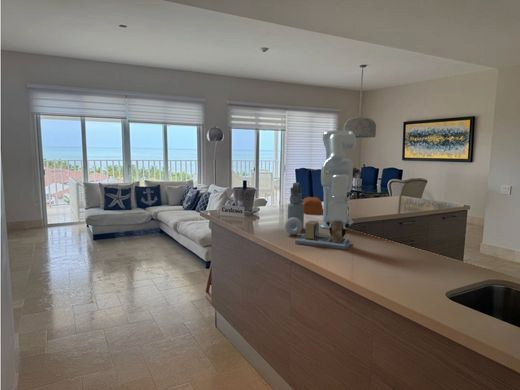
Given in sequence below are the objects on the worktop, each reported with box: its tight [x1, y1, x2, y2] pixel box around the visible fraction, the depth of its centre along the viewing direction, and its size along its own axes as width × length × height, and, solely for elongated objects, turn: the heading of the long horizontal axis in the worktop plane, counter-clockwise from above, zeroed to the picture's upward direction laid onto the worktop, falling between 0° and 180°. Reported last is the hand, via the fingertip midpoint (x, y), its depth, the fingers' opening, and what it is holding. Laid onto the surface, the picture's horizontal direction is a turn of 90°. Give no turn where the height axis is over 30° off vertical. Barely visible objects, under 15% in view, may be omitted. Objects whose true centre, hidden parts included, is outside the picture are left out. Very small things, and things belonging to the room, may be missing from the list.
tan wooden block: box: [330, 222, 345, 241], centre depth 175 cm, size 5×8×9 cm, turn 155°
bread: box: [301, 196, 323, 216], centre depth 275 cm, size 16×27×11 cm, turn 174°
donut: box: [284, 218, 304, 236], centre depth 197 cm, size 10×4×10 cm, turn 91°
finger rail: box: [294, 220, 352, 251], centre depth 179 cm, size 12×26×11 cm, turn 65°
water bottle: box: [287, 182, 305, 230], centre depth 211 cm, size 10×10×28 cm
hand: (337, 235), depth 176 cm, fingers closed on tan wooden block, 5 cm apart
